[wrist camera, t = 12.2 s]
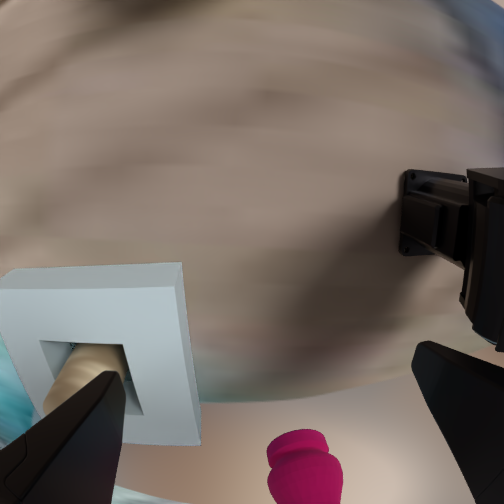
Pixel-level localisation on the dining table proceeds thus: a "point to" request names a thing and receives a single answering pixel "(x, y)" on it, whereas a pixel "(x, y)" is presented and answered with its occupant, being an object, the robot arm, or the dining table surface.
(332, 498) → the pepper mill
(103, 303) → the socket block
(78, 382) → the birch peg
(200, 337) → the dining table surface
